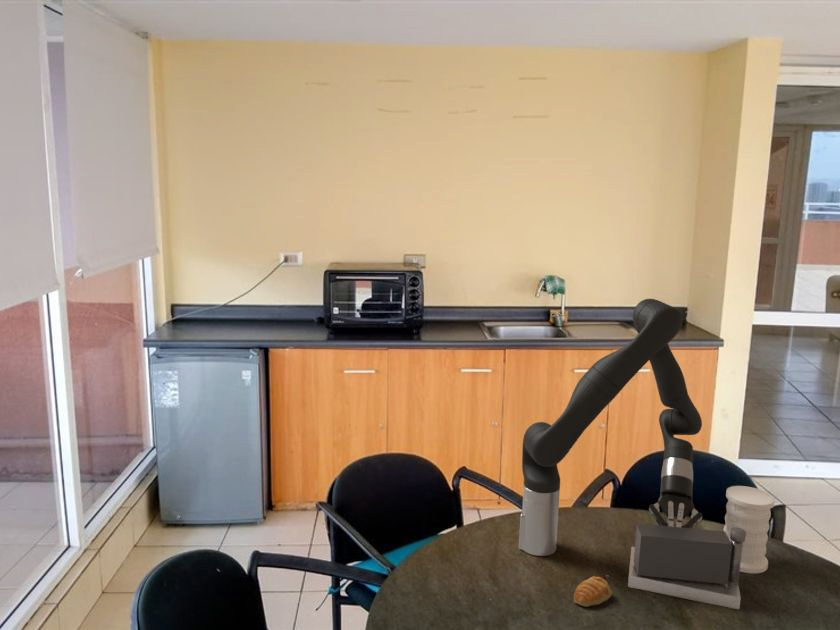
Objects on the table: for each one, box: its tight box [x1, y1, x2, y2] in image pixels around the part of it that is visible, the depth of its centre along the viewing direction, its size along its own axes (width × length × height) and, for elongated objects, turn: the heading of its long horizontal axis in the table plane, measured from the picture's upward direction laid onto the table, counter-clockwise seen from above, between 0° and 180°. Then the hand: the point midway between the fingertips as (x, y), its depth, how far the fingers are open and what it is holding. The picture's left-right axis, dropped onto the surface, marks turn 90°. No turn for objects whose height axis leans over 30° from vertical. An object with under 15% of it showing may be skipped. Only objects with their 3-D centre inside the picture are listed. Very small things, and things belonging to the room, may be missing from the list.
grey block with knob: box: [634, 522, 746, 584], centre depth 156 cm, size 24×6×12 cm, turn 81°
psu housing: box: [627, 540, 743, 610], centre depth 158 cm, size 24×14×13 cm, turn 70°
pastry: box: [573, 575, 613, 608], centre depth 152 cm, size 9×7×4 cm
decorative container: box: [723, 485, 775, 574], centre depth 168 cm, size 12×12×18 cm
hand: (673, 547), depth 160 cm, fingers closed
